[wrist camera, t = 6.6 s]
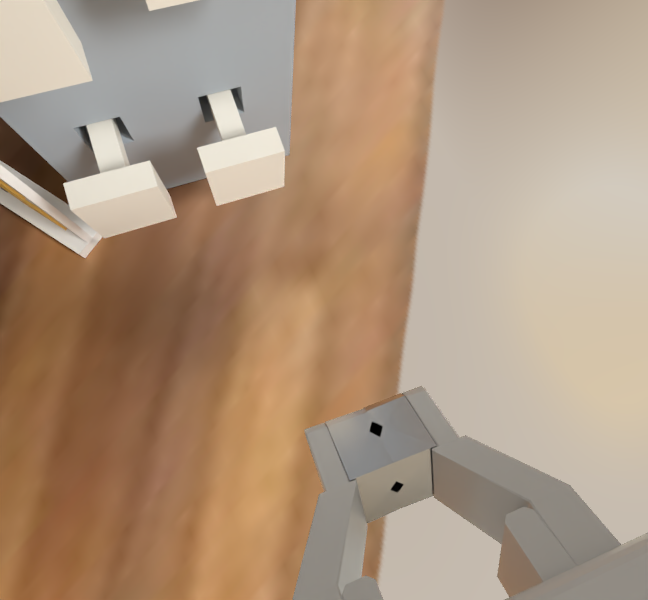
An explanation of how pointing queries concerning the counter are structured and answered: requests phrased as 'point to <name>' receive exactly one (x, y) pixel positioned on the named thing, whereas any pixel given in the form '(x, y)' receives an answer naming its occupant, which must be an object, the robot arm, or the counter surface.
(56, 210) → the card
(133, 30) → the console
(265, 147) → the button bottom right
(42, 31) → the button top left
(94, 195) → the button bottom left
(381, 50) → the counter surface
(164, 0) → the button top right
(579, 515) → the robot arm
